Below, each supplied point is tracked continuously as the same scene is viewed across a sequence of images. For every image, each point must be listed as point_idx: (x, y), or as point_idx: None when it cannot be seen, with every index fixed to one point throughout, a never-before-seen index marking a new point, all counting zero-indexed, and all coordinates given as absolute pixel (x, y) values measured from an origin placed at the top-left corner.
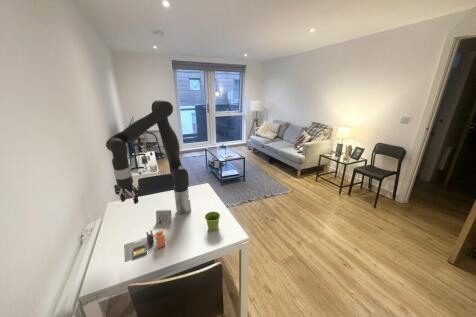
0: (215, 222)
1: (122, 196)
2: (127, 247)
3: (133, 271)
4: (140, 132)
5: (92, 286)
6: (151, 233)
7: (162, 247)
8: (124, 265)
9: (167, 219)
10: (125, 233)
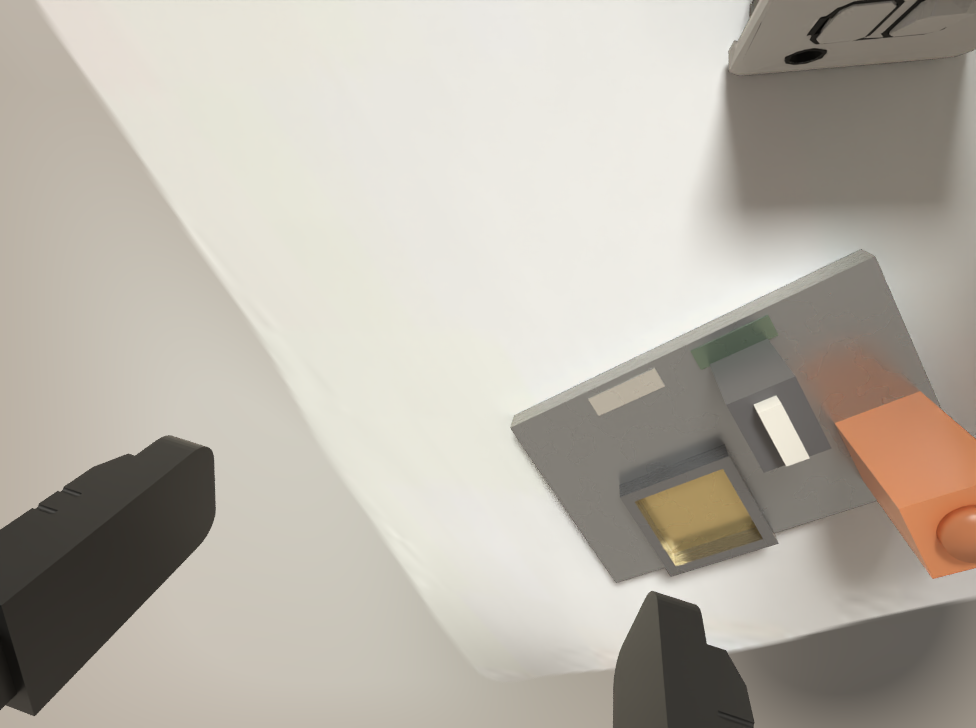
0: None
1: (57, 651)
2: (558, 457)
3: None
4: None
5: (502, 665)
6: (805, 426)
7: None
8: None
9: (963, 24)
10: (414, 245)
